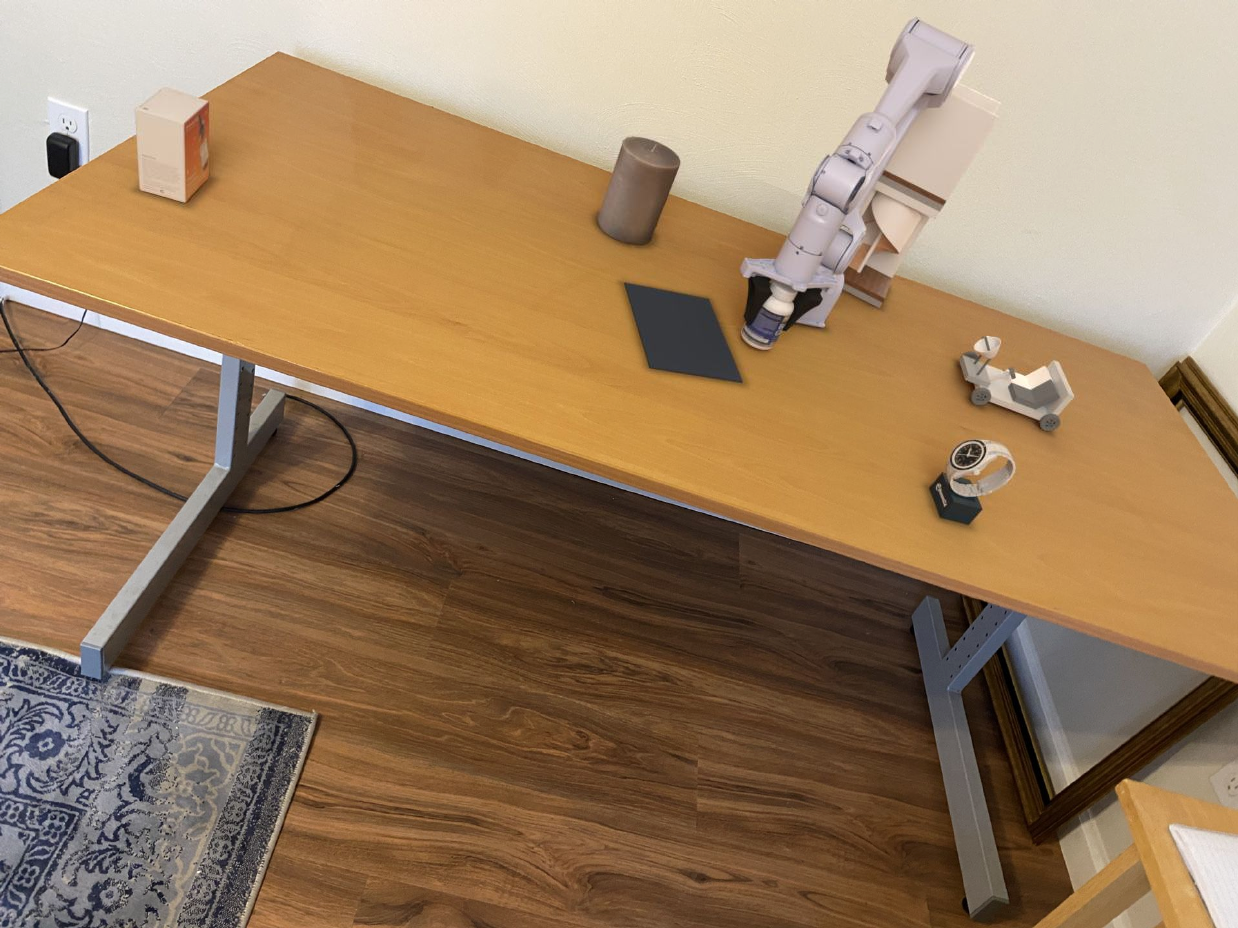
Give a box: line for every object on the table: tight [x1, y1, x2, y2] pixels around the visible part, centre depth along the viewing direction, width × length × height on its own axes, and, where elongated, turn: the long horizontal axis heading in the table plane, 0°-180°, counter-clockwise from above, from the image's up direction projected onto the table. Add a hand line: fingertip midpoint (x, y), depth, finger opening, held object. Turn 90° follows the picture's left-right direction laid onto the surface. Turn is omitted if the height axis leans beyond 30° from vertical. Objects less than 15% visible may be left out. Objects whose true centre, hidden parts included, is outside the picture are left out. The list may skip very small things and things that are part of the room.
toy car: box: [958, 335, 1075, 432], centre depth 136 cm, size 18×10×12 cm
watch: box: [928, 438, 1017, 526], centre depth 108 cm, size 6×8×11 cm
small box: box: [134, 86, 210, 203], centre depth 104 cm, size 8×6×10 cm
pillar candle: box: [597, 135, 681, 246], centre depth 134 cm, size 10×10×15 cm
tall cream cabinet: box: [842, 81, 1002, 309], centre depth 142 cm, size 11×11×35 cm
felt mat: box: [624, 281, 744, 384], centre depth 121 cm, size 14×20×1 cm
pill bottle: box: [740, 280, 798, 351], centre depth 122 cm, size 5×5×10 cm
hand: (764, 324), depth 123 cm, fingers closed on pill bottle, 5 cm apart
